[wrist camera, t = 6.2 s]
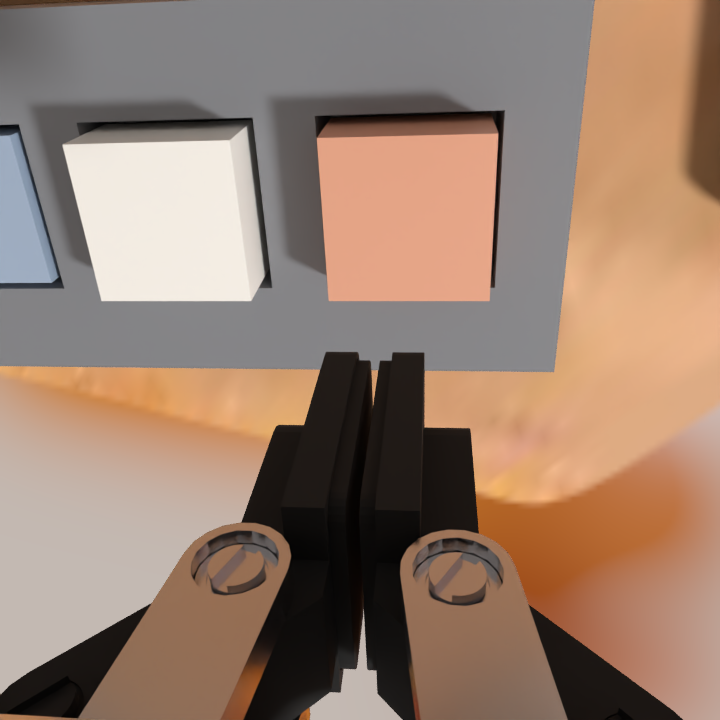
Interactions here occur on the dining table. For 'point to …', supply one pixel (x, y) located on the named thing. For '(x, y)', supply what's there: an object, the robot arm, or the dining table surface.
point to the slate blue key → (22, 217)
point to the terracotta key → (408, 206)
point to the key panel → (299, 167)
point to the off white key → (171, 210)
